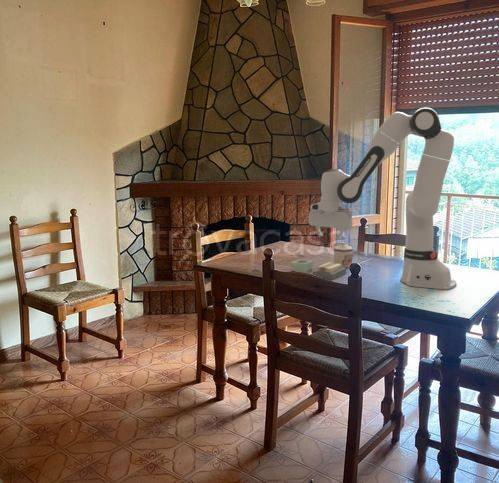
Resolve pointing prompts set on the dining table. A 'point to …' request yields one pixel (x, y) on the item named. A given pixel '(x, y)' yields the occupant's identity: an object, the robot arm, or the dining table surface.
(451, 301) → the dining table surface
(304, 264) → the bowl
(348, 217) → the robot arm
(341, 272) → the trivet
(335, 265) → the lid board
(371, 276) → the dining table surface
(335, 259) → the teacup with lid
